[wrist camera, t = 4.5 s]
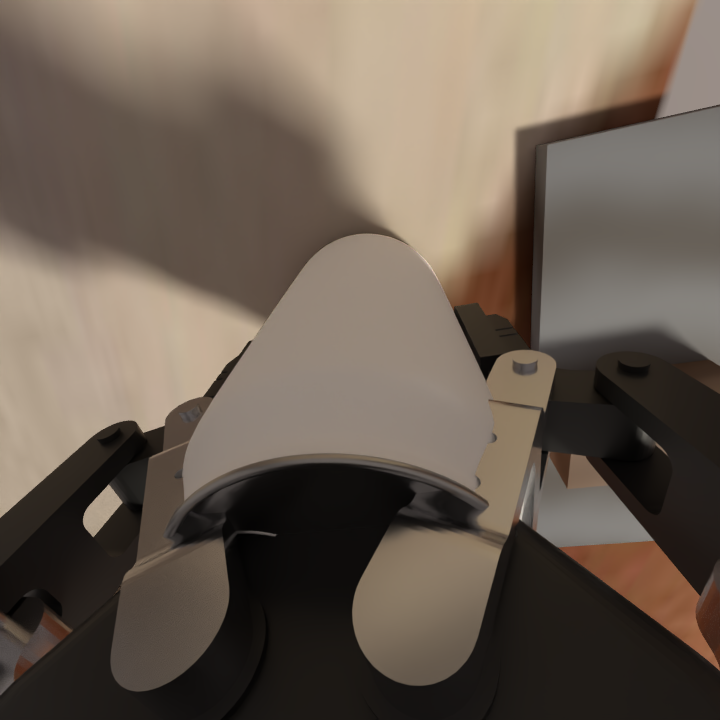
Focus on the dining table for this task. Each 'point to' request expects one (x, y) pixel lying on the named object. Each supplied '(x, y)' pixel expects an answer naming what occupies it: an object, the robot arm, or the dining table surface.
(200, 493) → the can
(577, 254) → the crossing block
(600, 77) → the dining table surface
